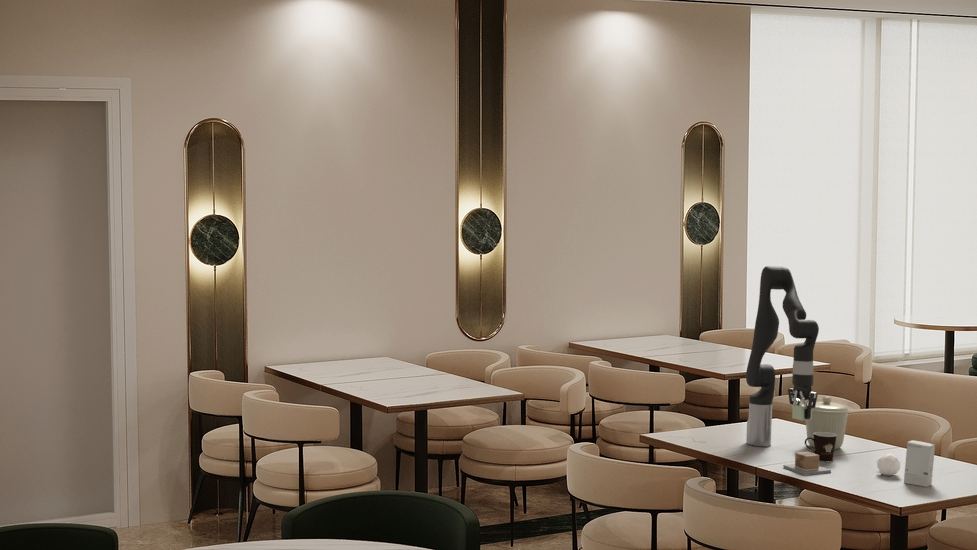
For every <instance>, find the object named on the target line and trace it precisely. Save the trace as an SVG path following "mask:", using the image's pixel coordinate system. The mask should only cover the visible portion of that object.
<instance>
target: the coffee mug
mask: <svg viewBox="0 0 977 550" xmlns="http://www.w3.org/2000/svg"><path fill="white" fill-rule="evenodd" d="M813 436H814V439H813V438H811V437H809V438H807V437H806V438H805V440H804V446H805V447H806V448H808V450H810V451H812V453H814V454H817V455H819V462H823V461H824V462H825V463H829V462H830V461H831V462H833V460H834V456H835V455H834V454H835V450H836V449H835V443H836V436H837V435H836V434H833V433H828V432H815V433H813ZM808 439H812V440H813V441H814V447H813V448H814V449H812V448H811V447H810V446H808V444H807V442H808ZM834 449H835V450H834ZM828 461H829V462H828ZM824 462H823V463H824Z"/></svg>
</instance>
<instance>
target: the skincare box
mask: <svg viewBox="0 0 977 550" xmlns="http://www.w3.org/2000/svg"><path fill="white" fill-rule="evenodd" d="M935 448H936V444H934V443H929V442H924V441H919V440H909V441H907V445H906V452H905V453H906V454H905V466H904V475H903V483H904V484H908V485H912V486H913V485H914V486H919V487H923V488H924V487H926V488H927V487H930V486H932V482H933V470H934V464H935V463H934V461H935V452H936V451H935V450H936V449H935Z"/></svg>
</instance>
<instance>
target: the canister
mask: <svg viewBox="0 0 977 550" xmlns="http://www.w3.org/2000/svg"><path fill="white" fill-rule="evenodd" d="M821 400H822V401H816V406H815V408H812V420H805V427H806V428H805V429H806V439H807V438H809V437H811V438H813V439H814V436H813V433H815V432H828V433H833V434H836V435H837V436H836V443H835V449H834V451H835V450H838V449H839V450H840V449H841V447H842V446H843V444H844V438H845V434H846V428H847V421H848V414H849V412H850V411H851V409H850V408H849V407H847V406H846V405H844V404H842V403H839V402H832V398H831V397H830V396H823V397H822V398H821ZM812 404H813V402H812ZM807 405H808V403H807ZM807 442H808V444H809V447H812V448H814V441H813V440H812V439H808V440H807Z"/></svg>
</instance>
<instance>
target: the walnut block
mask: <svg viewBox="0 0 977 550" xmlns="http://www.w3.org/2000/svg"><path fill="white" fill-rule="evenodd" d="M794 454H795V455H794V457H795V460H794V464H795V466H796V467H799V468H802V469H805V470H809V469H819V466H820V461H819V455H817V454H815V453H814V452H810V451H799V452H795V453H794Z"/></svg>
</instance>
